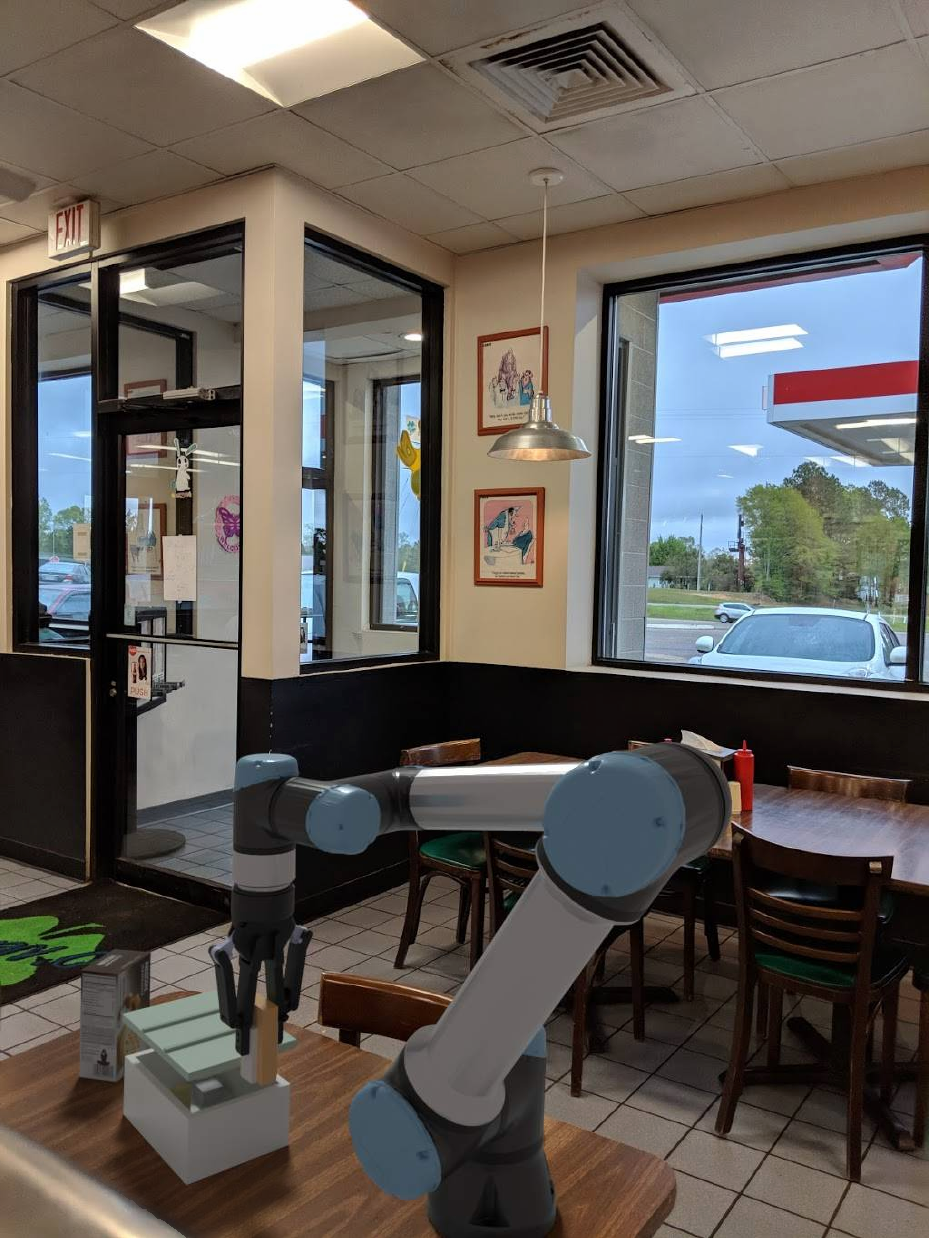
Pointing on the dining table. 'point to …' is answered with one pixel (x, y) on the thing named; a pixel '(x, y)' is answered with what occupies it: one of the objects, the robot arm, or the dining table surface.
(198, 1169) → the tub
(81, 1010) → the coffee box
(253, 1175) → the dining table surface
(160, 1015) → the lid
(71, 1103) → the dining table surface
